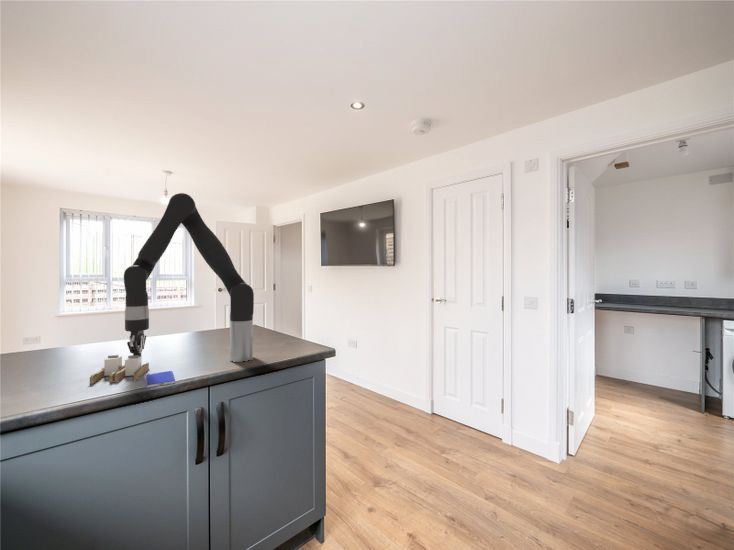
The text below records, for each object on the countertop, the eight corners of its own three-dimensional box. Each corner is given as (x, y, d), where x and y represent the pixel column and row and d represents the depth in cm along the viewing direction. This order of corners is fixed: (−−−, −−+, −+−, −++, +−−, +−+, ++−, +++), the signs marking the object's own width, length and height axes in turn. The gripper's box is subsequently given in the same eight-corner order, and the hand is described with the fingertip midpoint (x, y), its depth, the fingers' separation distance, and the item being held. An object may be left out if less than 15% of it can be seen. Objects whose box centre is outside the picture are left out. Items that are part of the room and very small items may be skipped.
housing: (127, 370, 125) (127, 363, 124) (112, 382, 111) (112, 374, 111) (107, 372, 122) (107, 364, 122) (89, 384, 109) (89, 376, 109)
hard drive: (146, 374, 117) (146, 384, 107) (172, 370, 122) (175, 379, 112) (146, 378, 117) (146, 389, 107) (172, 374, 122) (175, 384, 112)
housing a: (148, 368, 127) (148, 361, 127) (136, 380, 114) (136, 372, 114) (129, 370, 125) (129, 363, 125) (114, 382, 111) (114, 374, 111)
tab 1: (121, 371, 122) (121, 353, 122) (117, 374, 118) (117, 356, 118) (109, 372, 121) (109, 354, 121) (104, 375, 117) (104, 357, 117)
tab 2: (141, 371, 122) (141, 353, 122) (137, 374, 119) (137, 356, 118) (129, 372, 121) (128, 354, 121) (124, 376, 117) (124, 357, 117)
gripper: (142, 319, 118) (142, 366, 119) (153, 314, 131) (154, 357, 131) (118, 320, 116) (118, 368, 116) (131, 315, 129) (132, 359, 129)
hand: (137, 362), depth 124 cm, fingers closed
